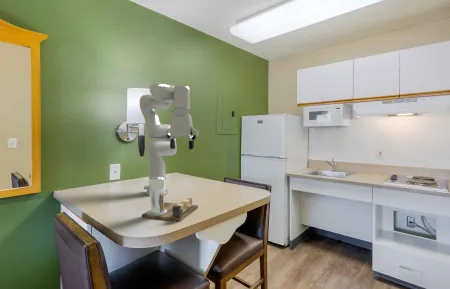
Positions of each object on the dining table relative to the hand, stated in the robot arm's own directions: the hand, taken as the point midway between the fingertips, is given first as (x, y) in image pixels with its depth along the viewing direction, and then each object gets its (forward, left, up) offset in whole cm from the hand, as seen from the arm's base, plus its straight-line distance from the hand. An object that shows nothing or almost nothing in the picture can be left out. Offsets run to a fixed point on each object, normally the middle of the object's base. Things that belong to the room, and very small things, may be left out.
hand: (181, 148), depth 116 cm
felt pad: (-7, -12, -27) cm, 30 cm away
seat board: (-2, -7, -28) cm, 29 cm away
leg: (+5, -9, -26) cm, 28 cm away
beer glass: (-6, -12, -27) cm, 30 cm away
